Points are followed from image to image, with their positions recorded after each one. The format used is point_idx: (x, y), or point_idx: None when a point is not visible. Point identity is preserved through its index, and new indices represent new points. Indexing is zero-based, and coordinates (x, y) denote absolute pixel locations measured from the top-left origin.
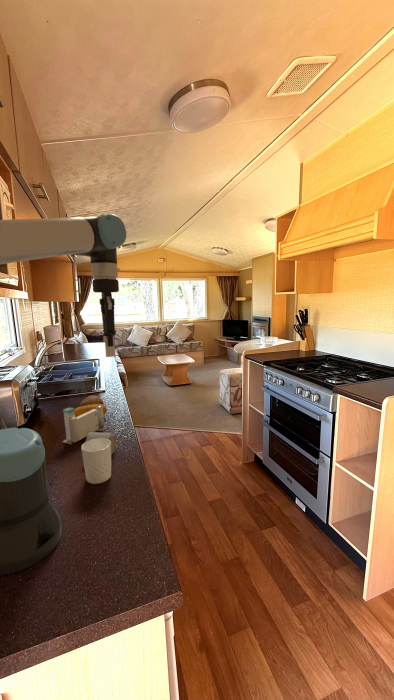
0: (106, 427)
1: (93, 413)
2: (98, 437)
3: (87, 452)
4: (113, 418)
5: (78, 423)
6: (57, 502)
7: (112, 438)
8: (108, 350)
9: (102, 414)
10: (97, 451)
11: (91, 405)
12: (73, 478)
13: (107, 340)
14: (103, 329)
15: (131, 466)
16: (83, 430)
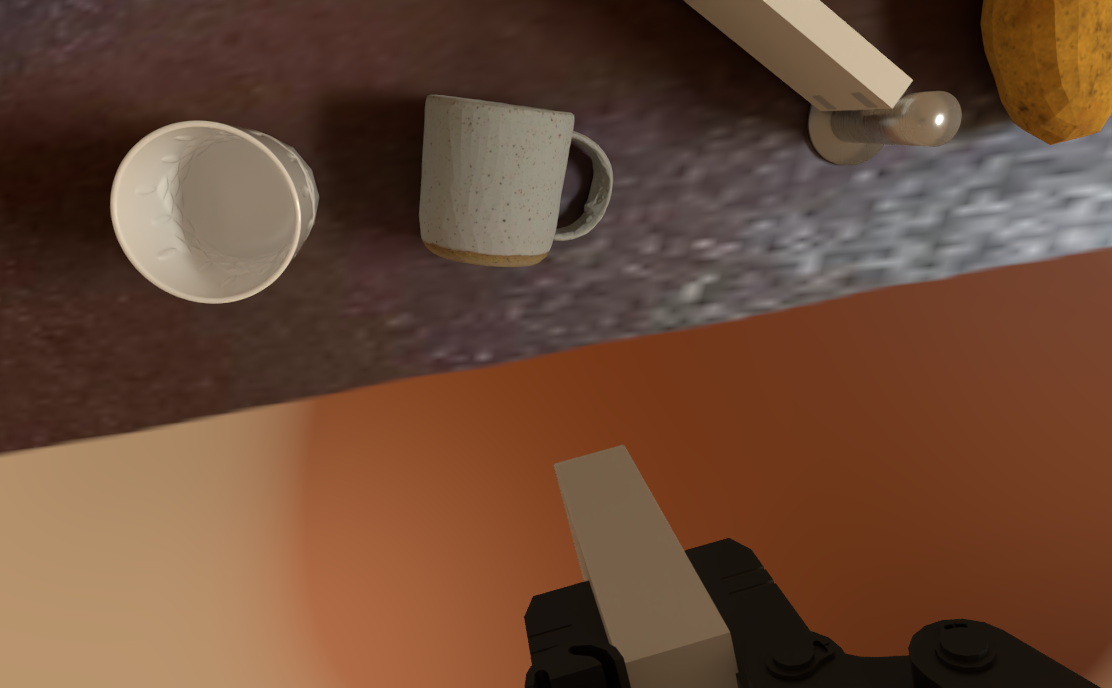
0: (843, 158)
1: (855, 84)
2: (460, 180)
3: (117, 173)
4: (986, 186)
5: None
6: (52, 24)
7: (471, 262)
8: (577, 543)
9: (889, 141)
10: (116, 235)
11: (1080, 29)
12: (259, 60)
13: (607, 642)
14: (1014, 662)
15: (337, 350)
16: (738, 26)
